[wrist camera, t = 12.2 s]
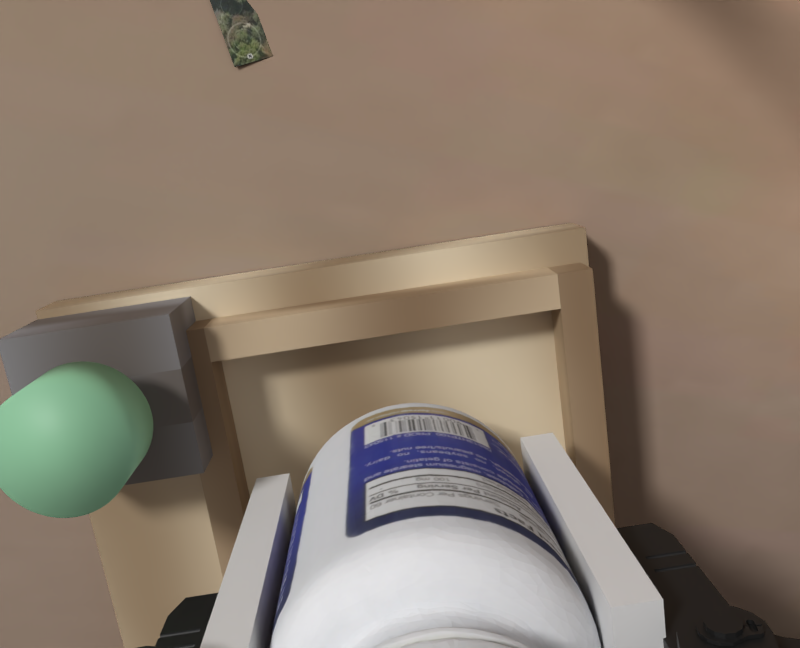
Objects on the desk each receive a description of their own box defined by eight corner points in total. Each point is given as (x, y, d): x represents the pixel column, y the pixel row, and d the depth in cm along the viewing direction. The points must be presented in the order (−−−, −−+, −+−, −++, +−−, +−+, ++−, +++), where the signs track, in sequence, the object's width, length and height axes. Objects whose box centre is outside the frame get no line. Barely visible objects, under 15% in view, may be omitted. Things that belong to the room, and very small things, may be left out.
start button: (76, 454, 17) (6, 527, 14) (48, 346, 17) (-33, 396, 13) (187, 437, 17) (145, 506, 14) (164, 328, 17) (112, 373, 13)
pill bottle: (424, 644, 18) (469, 1084, 10) (254, 518, 17) (137, 879, 9) (573, 490, 18) (768, 819, 9) (404, 349, 17) (437, 564, 8)
